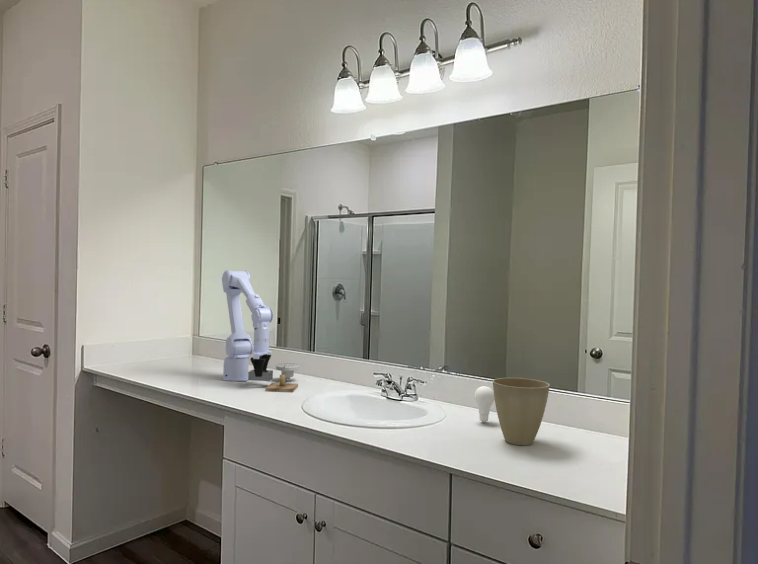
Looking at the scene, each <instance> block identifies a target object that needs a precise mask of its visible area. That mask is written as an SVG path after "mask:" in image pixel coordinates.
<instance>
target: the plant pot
mask: <svg viewBox="0 0 758 564" xmlns="http://www.w3.org/2000/svg"><path fill="white" fill-rule="evenodd" d="M492 388H493V389H492V390H493V392H494V399H495V400H494V404H495V410H496V413H497V414H496V415H497V418H498V422H499V426H500V430H501V432H502V435H503V438H504V441H505V442H506V443H509V444H511V445H515V446H516V445H517V446H530V445H533V443H534V441H535V439H536V437H537V435H538V432H539V430H540V427H541V425H542V420H543V418H544V414H545V412H546V406H547V403H548V399H549V392H550V383H548V382H546V381H544V380H543V381H542V380H538V379H532V378H524V377H499V378H495V379H493V380H492Z"/></svg>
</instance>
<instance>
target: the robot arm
mask: <svg viewBox="0 0 758 564" xmlns="http://www.w3.org/2000/svg"><path fill="white" fill-rule="evenodd" d="M221 283H222V289H223V293H225V294H226V302H227V303H226V304H227V310H228V316H229V318H228V319H229V323H230V324H229V325H230V330H231V331H230V333H231V334H230V335H229V336H228V337H227V338H226V339H225V352H226V355H227V357H225V358H224V361H223V374H222V375H223V377H222V378H223V379H222V381H229V382H230V381H233V382H235V381H237V382H247V381H249V380H248V372H249V362H251V364H252V366H253V370H254V372H255V376H256V377H261V376H262V371H263V370H268V365H269V363H270V362H269V361H270V360H271V357H272V355H271V354H273V351H272V350H270V327H271V326H270V324H271V323H272V322H273V318H274V313H273V309H272V307H269V306H267V305H265V303H264V301H263V299H262V298H261V296H260V295H259V294H257V293H255V291H254V288H253V286H252V285H251V275H250V272H249V271H248V270H230V269H229V270H228V269H226V270H224V272H223V274H222V276H221ZM241 294H243V295H244V297H245V298H246V300H245V303H246V305H247V307H248V309H249V311H250V312H251V321H252V328H253V342H252V336H251V335H249V334H248V333H247V332H245V325H244V320H243V319H244V318H243V310H242V304H241V297H240V295H241ZM252 354H253V356H252ZM251 356H252V357H251ZM249 358H250V361H249Z"/></svg>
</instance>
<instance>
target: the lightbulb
mask: <svg viewBox="0 0 758 564" xmlns="http://www.w3.org/2000/svg"><path fill="white" fill-rule="evenodd" d="M473 396H474V401H475V403H476V405H477V407H478V413H479V421H480V422H481V423H483V424H485V423H486V422H488V421H489V414H490V411H491V407H492V405H493V403H495V399H494V390H493V389H492V388H491V387H489V386H485V385H481V386H480V387H479V386H478V387H477V388H476V390H475V392H474V395H473Z"/></svg>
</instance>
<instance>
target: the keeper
mask: <svg viewBox="0 0 758 564" xmlns="http://www.w3.org/2000/svg"><path fill="white" fill-rule="evenodd" d="M298 387H299V383H294V382H293V383H291V382H288V383H287V382H286V381H285V375H281V374H279V382H271V383H270V384H269V385H268V386H266V387H265V392H274V393H275V392H278V393H279V392H280V393H293V392H294V391H296V390H297V388H298Z"/></svg>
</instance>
